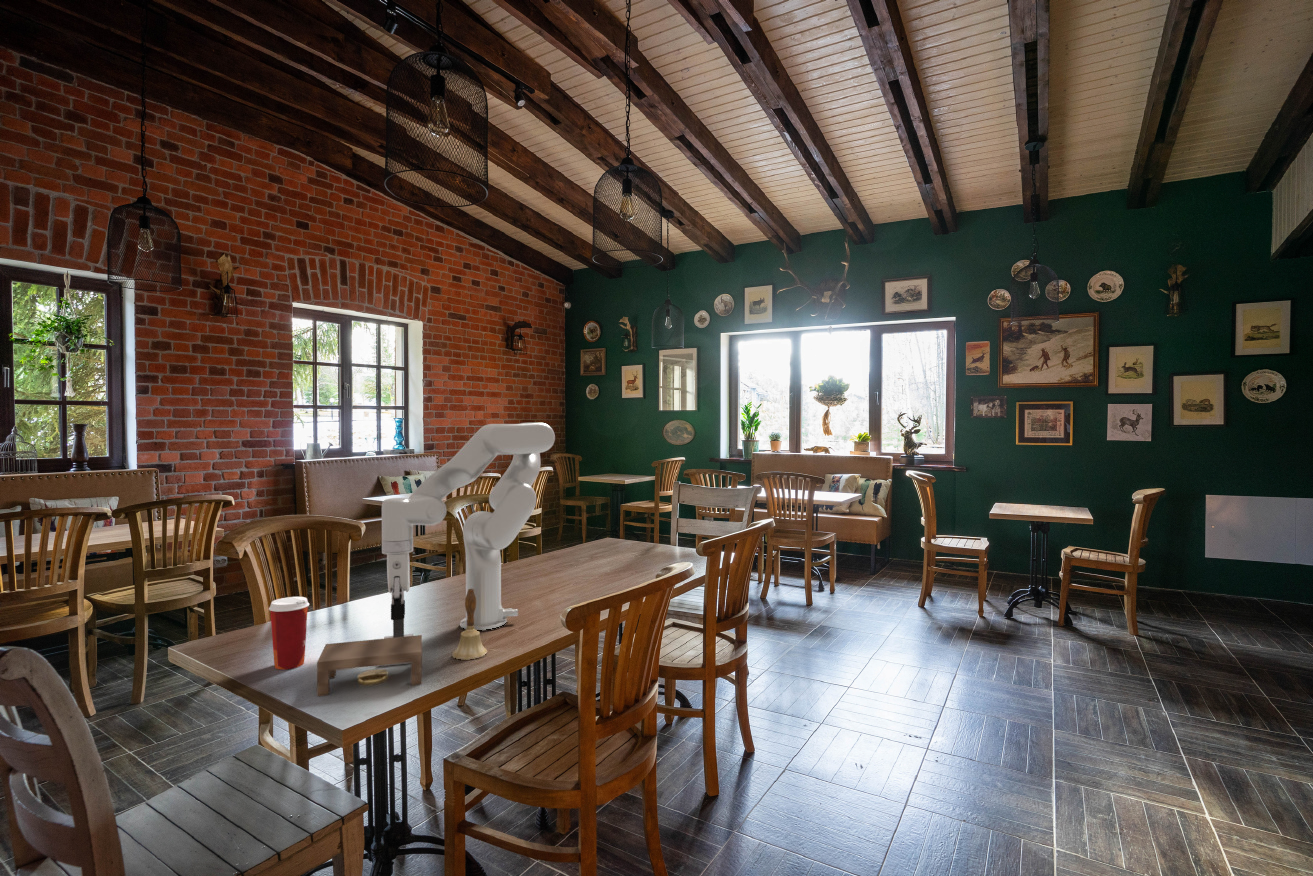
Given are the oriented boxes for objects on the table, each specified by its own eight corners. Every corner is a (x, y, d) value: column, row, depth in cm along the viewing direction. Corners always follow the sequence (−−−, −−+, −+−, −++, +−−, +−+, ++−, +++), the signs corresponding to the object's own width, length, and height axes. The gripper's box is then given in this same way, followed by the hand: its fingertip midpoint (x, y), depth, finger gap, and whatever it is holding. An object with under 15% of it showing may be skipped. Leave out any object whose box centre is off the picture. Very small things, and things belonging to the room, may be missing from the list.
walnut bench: (421, 665, 152) (421, 635, 152) (421, 684, 140) (421, 651, 140) (326, 675, 145) (325, 644, 145) (317, 696, 134) (317, 662, 134)
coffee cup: (317, 661, 154) (317, 597, 154) (287, 673, 146) (287, 606, 146) (290, 657, 157) (290, 594, 157) (259, 669, 149) (259, 603, 149)
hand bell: (493, 650, 162) (493, 586, 162) (477, 661, 154) (477, 594, 154) (463, 647, 164) (463, 584, 164) (445, 659, 156) (445, 592, 156)
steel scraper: (413, 638, 171) (412, 580, 171) (411, 663, 153) (411, 598, 153) (384, 641, 169) (383, 582, 168) (379, 666, 150) (378, 600, 150)
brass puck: (387, 674, 147) (387, 667, 147) (387, 683, 141) (387, 677, 141) (358, 678, 144) (358, 671, 144) (357, 688, 139) (356, 681, 139)
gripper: (412, 551, 162) (412, 625, 162) (413, 540, 177) (414, 608, 177) (379, 552, 159) (380, 628, 160) (383, 542, 175) (384, 610, 175)
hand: (398, 617), depth 169 cm, fingers closed on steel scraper, 2 cm apart
